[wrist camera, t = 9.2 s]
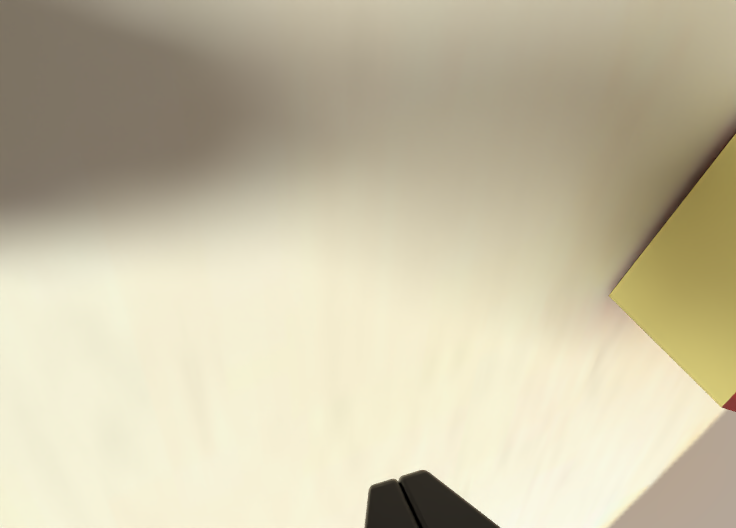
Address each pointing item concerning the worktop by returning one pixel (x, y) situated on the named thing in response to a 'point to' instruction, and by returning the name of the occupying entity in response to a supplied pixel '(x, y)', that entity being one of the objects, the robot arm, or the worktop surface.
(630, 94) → the worktop surface
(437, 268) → the worktop surface
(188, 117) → the worktop surface
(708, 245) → the baking soda box
